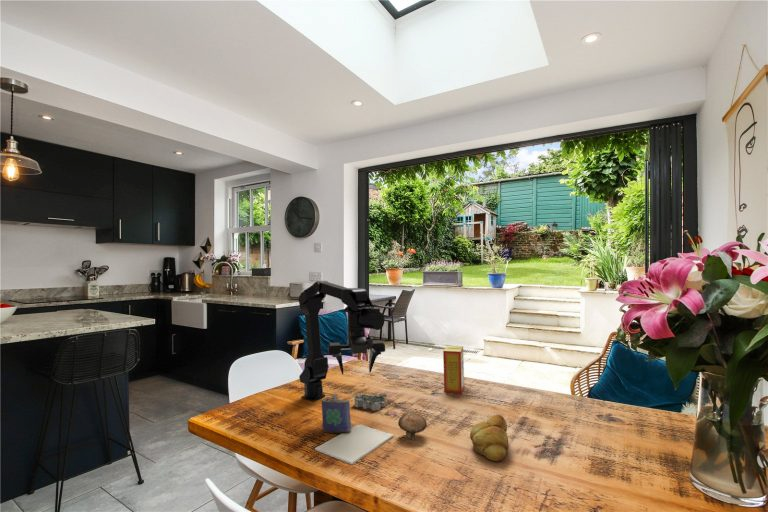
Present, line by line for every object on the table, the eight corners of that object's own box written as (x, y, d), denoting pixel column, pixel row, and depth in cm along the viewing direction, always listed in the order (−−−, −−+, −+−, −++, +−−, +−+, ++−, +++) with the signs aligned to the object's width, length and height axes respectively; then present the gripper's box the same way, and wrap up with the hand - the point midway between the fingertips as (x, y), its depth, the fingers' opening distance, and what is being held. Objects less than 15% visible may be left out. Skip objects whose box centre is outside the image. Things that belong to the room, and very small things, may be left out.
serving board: (315, 450, 100) (315, 448, 100) (358, 425, 115) (358, 424, 115) (351, 464, 92) (351, 462, 92) (393, 436, 107) (393, 434, 107)
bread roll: (512, 466, 90) (511, 433, 90) (471, 463, 92) (470, 430, 92) (506, 441, 103) (505, 412, 103) (470, 439, 105) (469, 410, 105)
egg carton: (388, 406, 131) (388, 394, 131) (375, 413, 125) (375, 400, 125) (364, 400, 137) (364, 388, 137) (351, 406, 131) (350, 394, 131)
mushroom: (407, 446, 101) (407, 422, 101) (393, 434, 108) (393, 412, 108) (432, 439, 105) (431, 416, 105) (416, 428, 112) (416, 407, 112)
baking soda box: (461, 393, 141) (460, 350, 142) (444, 392, 143) (443, 349, 144) (464, 385, 150) (463, 345, 151) (447, 384, 152) (446, 344, 153)
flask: (353, 430, 110) (350, 393, 111) (348, 434, 107) (345, 396, 108) (325, 428, 113) (323, 392, 114) (320, 432, 111) (318, 395, 111)
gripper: (329, 332, 115) (330, 383, 115) (388, 329, 119) (389, 378, 119) (327, 325, 126) (327, 372, 126) (381, 323, 130) (381, 368, 130)
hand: (356, 373), depth 125 cm, fingers open, 9 cm apart
